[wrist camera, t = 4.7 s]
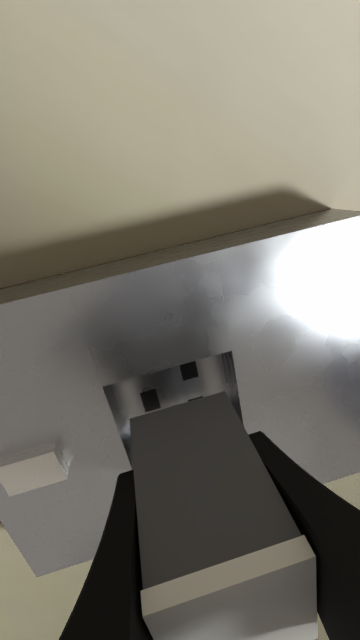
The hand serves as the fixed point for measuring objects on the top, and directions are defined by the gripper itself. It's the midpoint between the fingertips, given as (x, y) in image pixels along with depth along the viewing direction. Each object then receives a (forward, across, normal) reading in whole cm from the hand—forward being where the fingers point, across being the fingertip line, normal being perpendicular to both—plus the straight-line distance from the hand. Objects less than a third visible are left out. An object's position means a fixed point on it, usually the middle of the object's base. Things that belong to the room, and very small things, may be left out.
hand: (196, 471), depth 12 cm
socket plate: (+5, 0, 0) cm, 5 cm away
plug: (+2, 0, 0) cm, 2 cm away
